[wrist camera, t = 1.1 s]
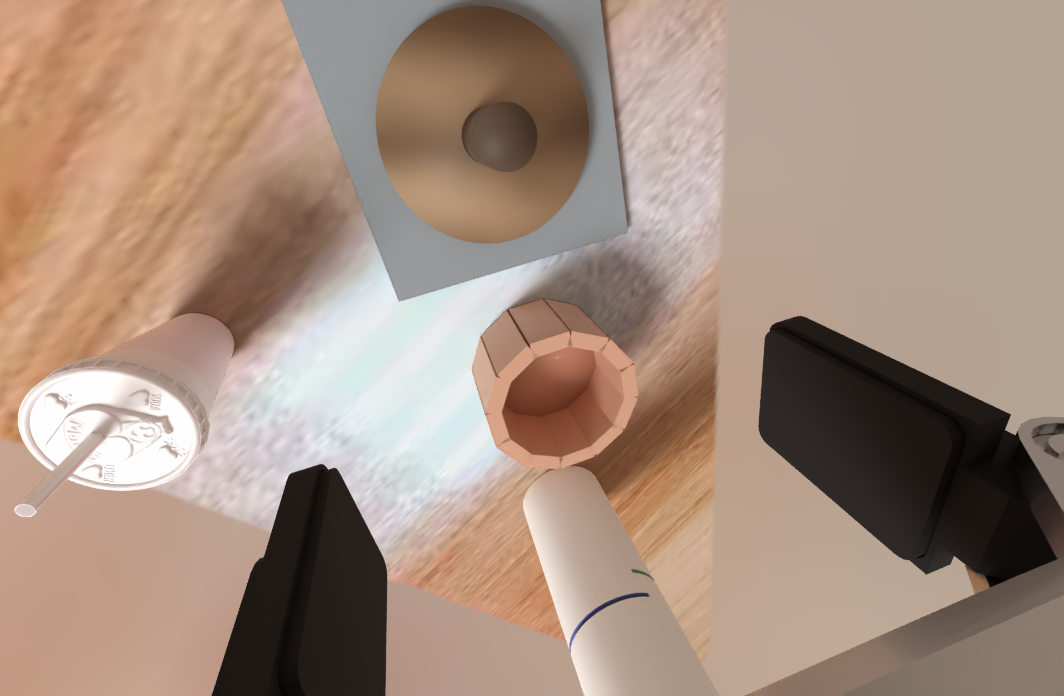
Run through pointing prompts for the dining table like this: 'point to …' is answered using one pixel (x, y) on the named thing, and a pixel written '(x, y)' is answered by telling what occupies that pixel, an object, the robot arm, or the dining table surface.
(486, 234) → the lid
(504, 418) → the bowl
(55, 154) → the dining table surface
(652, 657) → the cylindrical container
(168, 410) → the smoothie
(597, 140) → the mat
